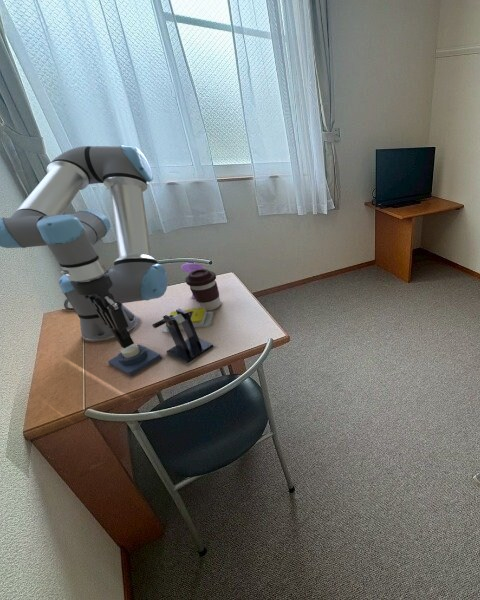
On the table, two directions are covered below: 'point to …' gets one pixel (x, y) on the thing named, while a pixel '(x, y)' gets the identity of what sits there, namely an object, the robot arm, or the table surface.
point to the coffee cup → (204, 288)
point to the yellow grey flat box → (195, 318)
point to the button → (130, 351)
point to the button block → (135, 361)
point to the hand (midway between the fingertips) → (127, 345)
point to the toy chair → (191, 268)
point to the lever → (178, 317)
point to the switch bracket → (185, 348)
